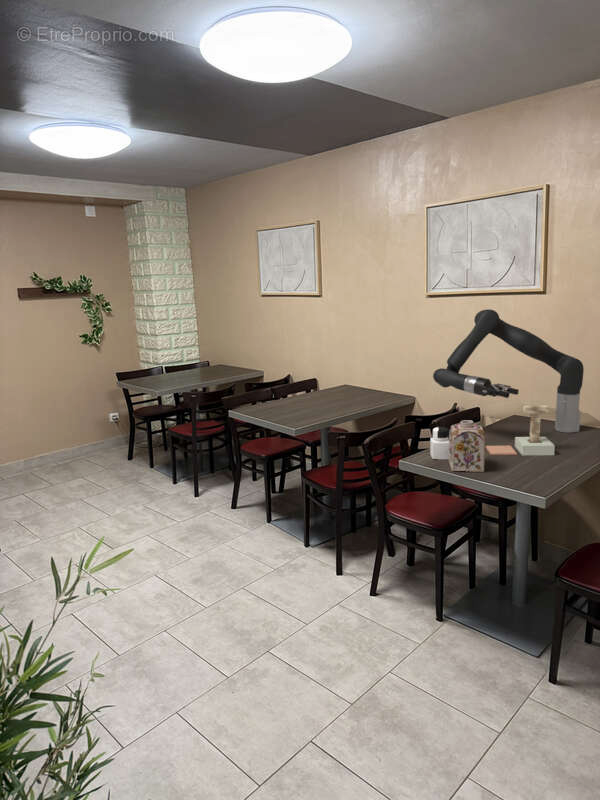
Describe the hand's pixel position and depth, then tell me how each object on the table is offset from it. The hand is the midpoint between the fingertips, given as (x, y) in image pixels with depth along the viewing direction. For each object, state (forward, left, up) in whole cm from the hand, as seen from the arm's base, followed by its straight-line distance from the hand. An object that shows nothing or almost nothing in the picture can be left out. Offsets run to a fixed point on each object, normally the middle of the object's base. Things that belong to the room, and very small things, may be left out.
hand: (513, 393), depth 227 cm
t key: (-7, +6, -22) cm, 24 cm away
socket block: (-7, +6, -22) cm, 24 cm away
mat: (+6, +6, -22) cm, 24 cm away
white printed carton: (+31, +13, -23) cm, 40 cm away
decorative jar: (+23, +25, -23) cm, 41 cm away
